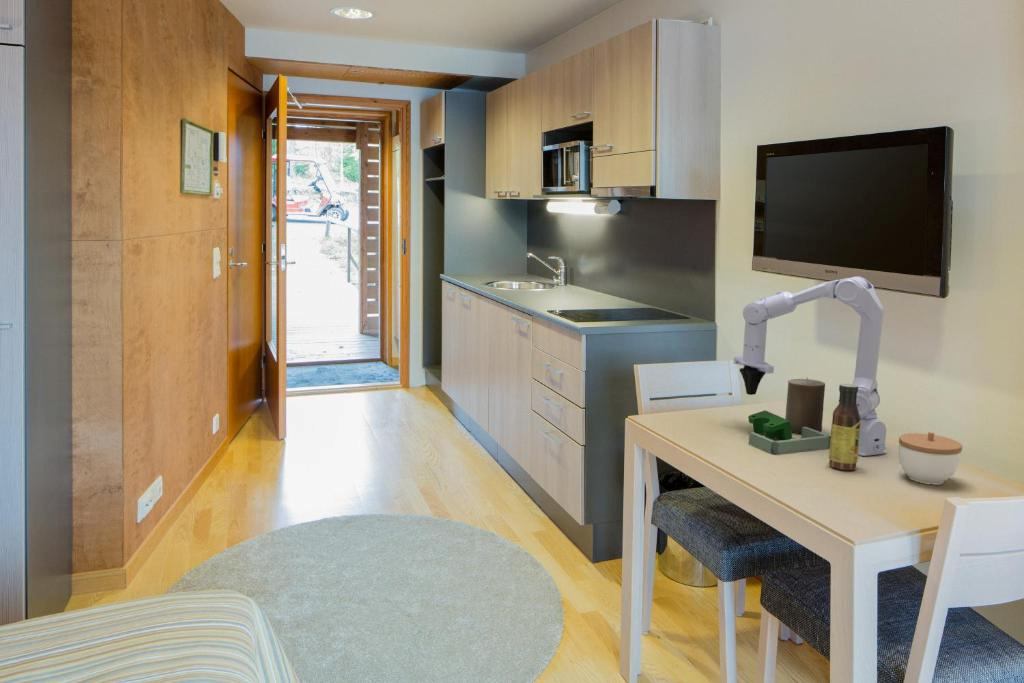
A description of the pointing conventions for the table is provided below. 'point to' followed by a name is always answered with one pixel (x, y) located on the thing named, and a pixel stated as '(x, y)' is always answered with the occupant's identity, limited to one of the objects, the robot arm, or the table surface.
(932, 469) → the lidded bowl
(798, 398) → the pillar candle
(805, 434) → the bracket
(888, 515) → the table surface
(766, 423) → the clamp
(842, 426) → the sauce bottle
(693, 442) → the table surface
